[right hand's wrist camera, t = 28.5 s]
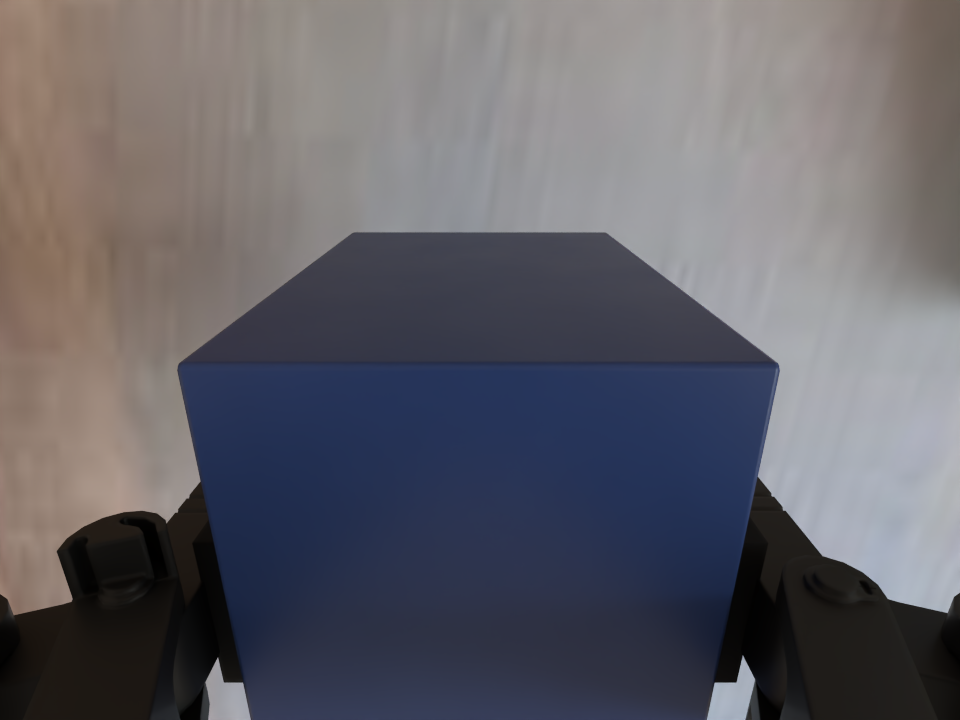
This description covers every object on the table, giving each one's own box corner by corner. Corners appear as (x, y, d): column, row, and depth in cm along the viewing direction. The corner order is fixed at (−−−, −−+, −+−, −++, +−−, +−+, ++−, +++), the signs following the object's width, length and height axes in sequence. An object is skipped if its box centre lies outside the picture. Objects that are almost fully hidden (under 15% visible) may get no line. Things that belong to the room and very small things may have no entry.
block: (351, 232, 15) (172, 363, 6) (607, 232, 15) (784, 364, 6) (374, 515, 18) (277, 859, 9) (584, 515, 18) (679, 860, 9)
